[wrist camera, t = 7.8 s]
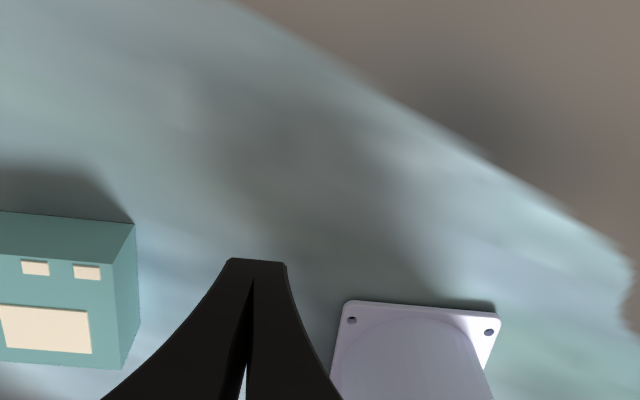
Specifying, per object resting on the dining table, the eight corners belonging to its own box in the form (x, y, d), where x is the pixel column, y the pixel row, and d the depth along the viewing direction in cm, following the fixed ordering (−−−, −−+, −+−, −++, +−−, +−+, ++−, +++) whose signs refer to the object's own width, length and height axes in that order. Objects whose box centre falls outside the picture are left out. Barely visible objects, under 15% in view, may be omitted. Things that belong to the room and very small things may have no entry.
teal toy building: (140, 324, 26) (120, 371, 23) (17, 313, 25) (-18, 361, 23) (134, 224, 23) (111, 265, 20) (-5, 210, 22) (-47, 251, 20)
